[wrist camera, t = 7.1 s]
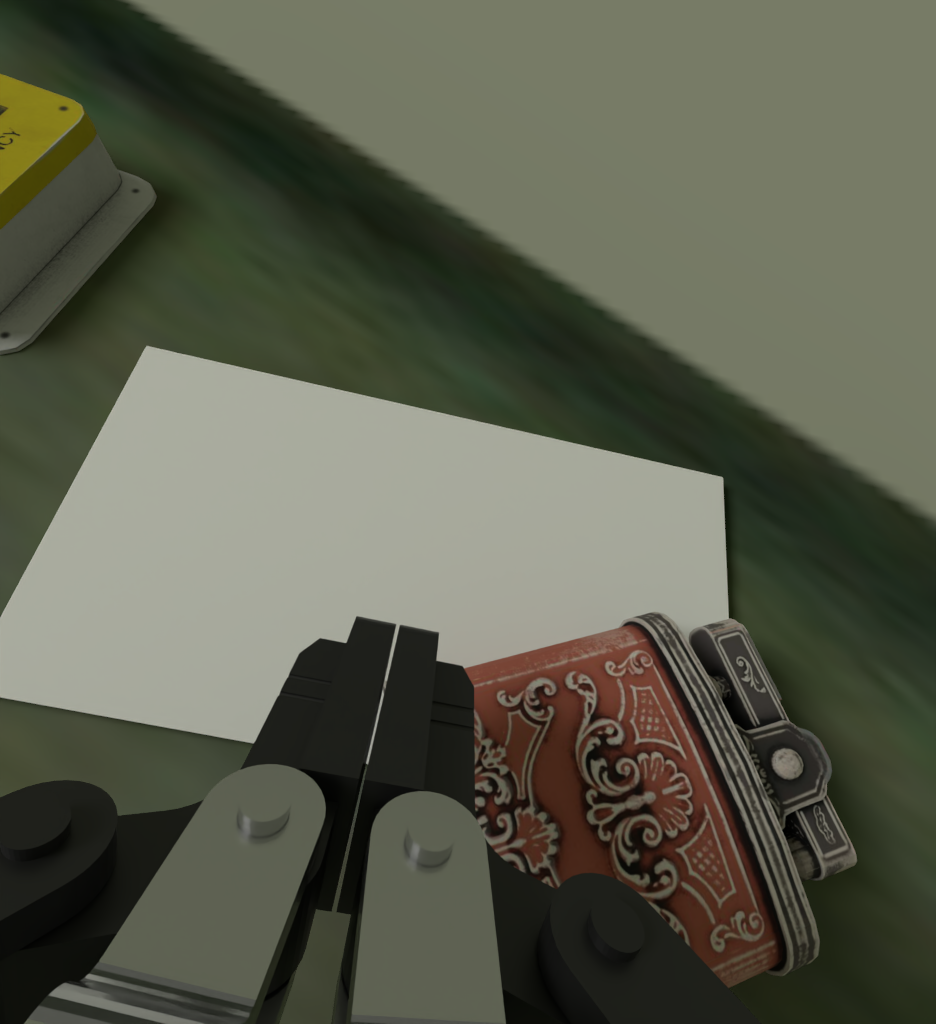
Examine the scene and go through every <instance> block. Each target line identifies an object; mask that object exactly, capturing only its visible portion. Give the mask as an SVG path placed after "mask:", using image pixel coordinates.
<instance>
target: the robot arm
mask: <svg viewBox="0 0 936 1024" xmlns="http://www.w3.org/2000/svg"><path fill="white" fill-rule="evenodd" d="M395 629H396V624H394V623H389V622H384V621H379V620H374V619H369V618H364V617H359V616H357V617H356V619H355V621H354V624H353V627H352V629H351V632H350V635H349V637H348V640H347V642H346V643H343V642H338V641H333V640H327V639H322V638H320V639H318V640H317V641H315V642H314V643H313V644H311V645H310V646H308V647H307V648H306V649H304V650H303V651H302V652H300V653H299V655H298V657H297V659H296V661H295V663H294V665H293V667H292V669H291V671H290V673H289V676H288V678H287V679H286V681H285V683H284V685H283V687H282V689H281V691H280V694H279V696H278V697H277V699H276V701H275V703H274V705H273V707H272V709H271V711H270V713H269V715H268V717H267V719H266V721H265V723H264V725H263V727H262V729H261V731H260V733H259V735H258V736H257V738H256V740H255V742H254V744H253V746H252V748H251V750H250V752H249V754H248V756H247V758H246V760H245V762H244V764H243V766H242V768H241V769H240V770H239V771H236V772H235V773H233V774H231V775H229V776H227V777H226V778H224V779H223V780H221V781H220V782H219V783H218V784H217V785H216V786H215V787H214V788H213V789H212V790H211V791H210V792H209V794H208V795H207V796H206V798H205V799H204V800H203V801H200V802H198V803H195V804H193V805H190V806H186V807H182V808H179V809H173V810H167V811H159V812H149V813H140V814H131V815H122V816H118V815H117V809H116V805H115V803H114V801H113V799H112V798H111V797H110V796H109V795H108V793H107V792H105V791H104V790H102V789H101V788H99V787H97V786H95V785H92V784H90V783H85V782H81V781H70V780H63V781H51V782H45V783H40V784H36V785H32V786H28V787H25V788H23V789H20V790H17V791H15V792H12V793H10V794H7V795H5V796H3V797H0V1024H279V1023H280V1020H281V1017H282V1014H283V1011H284V1008H285V1005H286V1002H287V999H288V996H289V993H290V990H291V987H292V984H293V981H294V977H295V973H296V970H297V967H298V965H299V963H300V961H301V959H302V957H303V954H304V952H305V949H306V945H307V941H308V937H309V934H310V930H311V926H312V922H313V918H314V914H315V911H316V909H318V910H325V911H332V907H333V903H334V899H335V894H336V890H337V886H338V881H339V877H340V873H341V868H342V864H343V860H344V856H345V851H346V847H347V843H348V838H349V834H350V830H351V826H352V821H353V817H354V813H355V808H356V804H357V800H358V795H359V791H360V787H361V783H362V778H363V774H364V770H365V765H366V761H367V757H368V753H369V748H370V744H371V740H372V735H373V731H374V727H375V722H376V718H377V713H378V709H379V704H380V700H381V695H382V690H383V686H384V681H385V676H386V671H387V667H388V662H389V657H390V652H391V648H392V643H393V638H394V634H395ZM438 640H439V632H435V631H430V630H425V629H420V628H415V627H410V626H405V625H400V626H399V631H398V635H397V640H396V644H395V648H394V653H393V657H392V662H391V666H390V670H389V675H388V679H387V684H386V688H385V692H384V697H383V701H382V706H381V710H380V714H379V719H378V723H377V727H376V732H375V736H374V741H373V745H372V749H371V754H370V758H369V763H368V767H367V771H366V776H365V780H364V785H363V790H362V794H361V799H360V804H359V809H358V813H357V818H356V823H355V827H354V832H353V837H352V841H351V846H350V851H349V856H348V860H347V865H346V870H345V874H344V879H343V884H342V889H341V893H340V898H339V903H338V907H337V912H339V913H345V914H351V918H350V923H349V928H348V933H347V938H346V943H345V948H344V953H343V958H342V962H341V967H340V971H339V976H338V980H337V985H336V992H335V999H334V1007H333V1015H332V1022H331V1024H761V1023H760V1022H759V1020H758V1019H757V1018H756V1017H755V1016H754V1015H753V1014H752V1013H751V1012H750V1011H749V1010H748V1009H747V1008H746V1007H745V1005H744V1004H743V1003H742V1002H741V1001H740V1000H739V999H738V998H737V997H736V996H735V995H734V994H733V993H732V992H731V990H730V989H729V988H728V987H727V986H726V985H725V984H724V983H723V982H722V981H721V980H720V979H719V978H718V976H717V975H716V974H715V973H714V972H713V971H712V970H711V969H710V968H709V967H708V966H707V965H706V964H705V963H704V961H703V960H702V959H701V958H700V957H699V956H698V955H697V954H696V953H695V952H694V951H693V950H692V949H691V948H690V946H689V945H688V944H687V943H686V942H685V941H684V940H683V939H682V938H681V937H680V936H679V935H678V934H677V932H676V931H675V930H674V929H673V928H672V927H671V926H670V925H669V924H668V923H667V922H666V921H665V920H664V919H663V917H662V916H661V915H660V914H659V913H658V912H657V911H656V910H655V909H654V908H653V907H652V906H651V905H650V904H649V903H648V902H647V901H646V900H645V899H644V898H643V897H642V896H641V895H640V894H639V893H638V892H636V891H635V890H634V889H632V888H631V887H630V886H628V885H626V884H625V883H623V882H621V881H619V880H617V879H615V878H612V877H610V876H606V875H603V874H597V873H581V874H578V875H574V876H572V877H570V878H568V879H566V880H565V881H564V882H563V883H562V884H561V885H560V886H559V887H558V889H555V888H553V887H551V886H550V885H548V884H546V883H544V882H542V881H540V880H538V879H536V878H534V877H532V876H530V875H528V874H526V873H524V872H522V871H520V870H519V869H517V868H515V867H514V866H512V865H511V864H509V863H508V862H507V861H505V860H504V859H503V858H502V857H501V856H500V855H499V854H498V853H497V852H496V851H495V850H494V849H493V848H492V847H491V846H490V844H489V843H488V842H487V840H486V838H485V836H484V834H483V831H482V828H481V826H480V825H479V823H478V821H477V817H476V810H475V732H474V728H475V725H474V686H473V684H472V682H471V680H470V678H469V677H468V675H467V673H466V671H465V669H464V668H463V666H461V665H455V664H450V663H445V662H440V661H436V660H437V650H438Z"/></svg>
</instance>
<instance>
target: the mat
mask: <svg viewBox="0 0 936 1024" xmlns="http://www.w3.org/2000/svg"><path fill="white" fill-rule="evenodd" d="M651 612H659V613H663V614H665V615H667V616H668V617H669V618H671V619H672V620H673V621H674V622H675V623H676V624H677V626H678V627H679V628H680V630H681V631H682V632H683V634H684V635H685V637H686V639H687V640H688V642H689V634H690V632H691V631H692V630H693V629H695V628H697V627H701V626H704V625H708V624H712V623H715V622H719V621H723V620H726V619H729V610H728V586H727V562H726V538H725V513H724V489H723V477H719V476H715V475H710V474H706V473H702V472H697V471H693V470H688V469H684V468H680V467H675V466H671V465H667V464H662V463H658V462H653V461H649V460H645V459H640V458H636V457H632V456H627V455H623V454H618V453H614V452H610V451H605V450H601V449H596V448H592V447H588V446H583V445H579V444H575V443H570V442H566V441H561V440H557V439H553V438H548V437H544V436H539V435H535V434H531V433H526V432H522V431H518V430H513V429H509V428H504V427H500V426H496V425H491V424H487V423H482V422H478V421H474V420H469V419H465V418H461V417H456V416H452V415H447V414H443V413H439V412H434V411H430V410H425V409H421V408H417V407H412V406H408V405H404V404H399V403H395V402H390V401H386V400H382V399H377V398H373V397H368V396H364V395H360V394H355V393H351V392H347V391H342V390H338V389H333V388H329V387H325V386H320V385H316V384H311V383H307V382H303V381H298V380H294V379H290V378H285V377H281V376H276V375H272V374H268V373H263V372H259V371H254V370H250V369H246V368H241V367H237V366H233V365H228V364H224V363H219V362H215V361H211V360H206V359H202V358H197V357H193V356H189V355H184V354H180V353H176V352H171V351H167V350H162V349H158V348H154V347H149V346H146V348H145V350H144V352H143V353H142V355H141V357H140V359H139V361H138V363H137V365H136V366H135V368H134V370H133V372H132V374H131V376H130V378H129V379H128V381H127V383H126V385H125V387H124V389H123V391H122V392H121V394H120V396H119V398H118V400H117V402H116V404H115V405H114V407H113V409H112V411H111V413H110V415H109V417H108V418H107V420H106V422H105V424H104V426H103V428H102V430H101V431H100V433H99V435H98V437H97V439H96V441H95V443H94V444H93V446H92V448H91V450H90V452H89V454H88V456H87V457H86V459H85V461H84V463H83V465H82V467H81V469H80V470H79V472H78V474H77V476H76V478H75V480H74V482H73V483H72V485H71V487H70V489H69V491H68V493H67V495H66V496H65V498H64V500H63V502H62V504H61V506H60V508H59V509H58V511H57V513H56V515H55V517H54V519H53V521H52V522H51V524H50V526H49V528H48V530H47V532H46V534H45V535H44V537H43V539H42V541H41V543H40V545H39V547H38V548H37V550H36V552H35V554H34V556H33V558H32V560H31V561H30V563H29V565H28V567H27V569H26V571H25V573H24V574H23V576H22V578H21V580H20V582H19V584H18V586H17V588H16V589H15V591H14V593H13V595H12V597H11V599H10V601H9V602H8V604H7V606H6V608H5V610H4V612H3V614H2V615H1V617H0V697H1V698H6V699H12V700H17V701H23V702H28V703H34V704H39V705H45V706H50V707H56V708H61V709H67V710H72V711H78V712H83V713H89V714H94V715H100V716H105V717H111V718H116V719H122V720H127V721H133V722H138V723H144V724H149V725H155V726H160V727H166V728H171V729H177V730H182V731H188V732H193V733H199V734H204V735H210V736H215V737H221V738H226V739H232V740H237V741H243V742H248V743H254V742H255V740H256V738H257V736H258V735H259V733H260V731H261V729H262V727H263V725H264V723H265V721H266V719H267V717H268V715H269V713H270V711H271V709H272V707H273V705H274V703H275V701H276V699H277V697H278V696H279V694H280V691H281V689H282V687H283V685H284V683H285V681H286V679H287V678H288V676H289V673H290V671H291V669H292V667H293V665H294V663H295V661H296V659H297V657H298V655H299V653H300V652H302V651H303V650H304V649H306V648H307V647H308V646H310V645H311V644H313V643H314V642H315V641H317V640H318V639H320V638H322V639H327V640H333V641H338V642H343V643H346V642H347V640H348V637H349V635H350V632H351V629H352V627H353V624H354V621H355V619H356V617H357V616H359V617H364V618H369V619H374V620H379V621H384V622H389V623H394V624H396V629H395V634H394V638H393V643H392V648H391V652H390V657H389V662H388V667H387V671H386V676H385V681H387V679H388V675H389V670H390V666H391V662H392V657H393V653H394V648H395V644H396V640H397V635H398V631H399V626H400V625H405V626H410V627H415V628H420V629H425V630H430V631H435V632H439V640H438V650H437V660H436V661H440V662H445V663H450V664H455V665H461V666H463V668H467V667H471V666H475V665H479V664H483V663H486V662H490V661H494V660H498V659H502V658H506V657H509V656H513V655H517V654H521V653H525V652H528V651H532V650H536V649H540V648H544V647H548V646H551V645H555V644H559V643H563V642H567V641H570V640H574V639H578V638H582V637H586V636H589V635H593V634H597V633H601V632H605V631H609V630H612V629H616V628H619V626H620V625H621V623H622V622H623V620H626V619H629V618H632V617H636V616H640V615H643V614H647V613H651ZM383 697H384V693H383V690H382V695H381V700H380V704H379V709H378V713H377V718H376V722H375V727H374V731H373V735H372V740H371V744H370V748H369V753H368V757H367V761H366V764H368V763H369V758H370V754H371V749H372V745H373V741H374V736H375V732H376V727H377V723H378V719H379V714H380V710H381V706H382V701H383Z"/></svg>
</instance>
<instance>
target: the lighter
mask: <svg viewBox="0 0 936 1024" xmlns="http://www.w3.org/2000/svg"><path fill="white" fill-rule="evenodd" d="M464 669H465V671H466V673H467V675H468V677H469V678H470V680H471V682H472V684H473V686H474V725H475V728H474V732H475V810H476V817H477V821H478V823H479V825H480V826H481V828H482V831H483V834H484V836H485V838H486V840H487V842H488V843H489V844H490V846H491V847H492V848H493V849H494V850H495V851H496V852H497V853H498V854H499V855H500V856H501V857H502V858H503V859H504V860H505V861H507V862H508V863H509V864H511V865H512V866H514V867H515V868H517V869H519V870H520V871H522V872H524V873H526V874H528V875H530V876H532V877H534V878H536V879H538V880H540V881H542V882H544V883H546V884H548V885H550V886H551V887H553V888H555V889H558V887H559V886H560V885H561V884H562V883H563V882H564V881H565V880H566V879H568V878H570V877H572V876H574V875H578V874H581V873H597V874H603V875H606V876H610V877H612V878H615V879H617V880H619V881H621V882H623V883H625V884H626V885H628V886H630V887H631V888H632V889H634V890H635V891H636V892H638V893H639V894H640V895H641V896H642V897H643V898H644V899H645V900H646V901H647V902H648V903H649V904H650V905H651V906H652V907H653V908H654V909H655V910H656V911H657V912H658V913H659V914H660V915H661V916H662V917H663V919H664V920H665V921H666V922H667V923H668V924H669V925H670V926H671V927H672V928H673V929H674V930H675V931H676V932H677V934H678V935H679V936H680V937H681V938H682V939H683V940H684V941H685V942H686V943H687V944H688V945H689V946H690V948H691V949H692V950H693V951H694V952H695V953H696V954H697V955H698V956H699V957H700V958H701V959H702V960H703V961H704V963H705V964H706V965H707V966H708V967H709V968H710V969H711V970H712V971H713V972H714V973H715V974H716V975H717V976H718V978H719V979H720V980H721V981H722V982H723V983H724V984H725V985H726V986H727V987H728V988H730V987H732V986H734V985H736V984H738V983H741V982H743V981H745V980H747V979H749V978H751V977H753V976H756V975H758V974H760V973H762V972H764V971H765V972H767V973H768V974H770V975H776V976H784V975H786V974H788V973H790V972H792V971H794V970H796V969H798V968H801V967H803V966H805V965H807V964H809V963H811V962H812V961H813V960H814V959H815V958H816V957H817V956H818V954H819V945H820V939H819V935H818V930H817V926H816V922H815V919H814V916H813V913H812V910H811V908H810V905H809V902H808V899H807V896H806V894H805V891H804V888H803V885H802V883H801V882H803V881H806V880H808V879H809V880H822V879H824V878H827V877H829V876H831V875H834V874H836V873H838V872H841V871H843V870H845V869H848V868H850V867H852V866H855V864H856V862H857V857H856V852H855V850H854V848H853V845H852V843H851V841H850V839H849V837H848V835H847V833H846V831H845V829H844V827H843V825H842V823H841V821H840V819H839V817H838V815H837V813H836V811H835V809H834V807H833V806H832V804H831V802H830V800H829V798H828V796H827V783H828V781H829V779H830V778H831V773H832V767H831V760H830V758H829V756H828V754H827V752H826V750H825V748H824V747H823V745H822V743H821V741H820V740H819V739H818V738H817V737H816V736H815V735H814V734H813V733H811V732H810V731H808V730H806V729H802V728H798V727H797V726H795V725H794V724H793V723H791V722H790V721H789V719H788V717H787V715H786V713H785V711H784V709H783V707H782V705H781V703H780V700H782V698H781V696H780V694H779V692H778V690H777V688H776V686H775V684H774V682H773V680H772V678H771V676H770V674H769V672H768V671H767V669H766V667H765V665H764V663H763V661H762V659H761V657H760V655H759V653H758V651H757V649H756V647H755V645H754V643H753V641H752V639H751V637H750V635H749V633H748V631H747V630H746V628H745V627H744V626H743V625H742V624H740V623H738V622H737V621H736V620H734V619H731V618H730V619H726V620H723V621H719V622H715V623H712V624H708V625H704V626H701V627H697V628H695V629H693V630H692V631H691V632H690V634H689V642H688V640H687V639H686V637H685V635H684V634H683V632H682V631H681V630H680V628H679V627H678V626H677V624H676V623H675V622H674V621H673V620H672V619H671V618H669V617H668V616H667V615H665V614H663V613H659V612H651V613H647V614H643V615H640V616H636V617H632V618H629V619H626V620H623V622H622V623H621V625H620V626H619V628H616V629H612V630H609V631H605V632H601V633H597V634H593V635H589V636H586V637H582V638H578V639H574V640H570V641H567V642H563V643H559V644H555V645H551V646H548V647H544V648H540V649H536V650H532V651H528V652H525V653H521V654H517V655H513V656H509V657H506V658H502V659H498V660H494V661H490V662H486V663H483V664H479V665H475V666H471V667H467V668H464ZM386 684H387V681H384V686H383V693H384V692H385V688H386Z"/></svg>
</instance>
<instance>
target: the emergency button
mask: <svg viewBox="0 0 936 1024" xmlns="http://www.w3.org/2000/svg"><path fill="white" fill-rule="evenodd" d="M156 197H157V196H156V193H155V191H154V190H153V188H152V186H151V184H150V183H148V182H146V181H145V180H143V179H141V178H139V177H137V176H134V175H132V174H129V173H126V172H123V171H120V170H118V169H116V167H115V165H114V164H113V162H112V160H111V158H110V156H109V154H108V153H107V151H106V149H105V147H104V145H103V144H102V142H101V140H100V138H99V136H98V135H97V133H96V130H95V126H94V124H93V123H92V121H91V120H90V118H89V116H88V115H87V113H86V112H85V110H84V108H83V107H82V105H80V104H79V103H77V102H76V101H74V100H72V99H70V98H67V97H64V96H61V95H58V94H56V93H53V92H50V91H47V90H44V89H41V88H39V87H36V86H33V85H30V84H27V83H25V82H22V81H19V80H16V79H13V78H11V77H8V76H5V75H2V74H0V355H2V354H7V353H13V352H18V351H20V350H22V349H23V348H25V347H26V346H28V345H29V344H31V343H32V342H33V341H34V340H35V339H36V338H37V337H38V335H39V334H40V333H41V332H42V331H43V330H44V329H45V328H46V326H47V325H48V324H49V323H50V322H51V321H52V320H53V319H54V317H55V316H56V315H57V314H58V313H59V312H60V311H61V310H62V308H63V307H64V306H65V305H66V304H67V303H68V302H69V300H70V299H71V298H72V297H73V296H74V295H75V294H76V293H77V291H78V290H79V289H80V288H81V287H82V286H83V285H84V284H85V282H86V281H87V280H88V279H89V278H90V277H91V276H92V274H93V273H94V272H95V271H96V270H97V269H98V268H99V267H100V265H101V264H102V263H103V262H104V261H105V260H106V259H107V258H108V256H109V255H110V254H111V253H112V252H113V251H114V250H115V249H116V247H117V246H118V245H119V244H120V243H121V242H122V241H123V239H124V238H125V237H126V236H127V235H128V234H129V233H130V232H131V230H132V229H133V228H134V227H135V226H136V225H137V224H138V223H139V221H140V220H141V219H142V218H143V217H144V216H145V215H146V213H147V212H148V211H149V210H150V209H151V208H152V207H153V206H154V203H155V200H156Z"/></svg>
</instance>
